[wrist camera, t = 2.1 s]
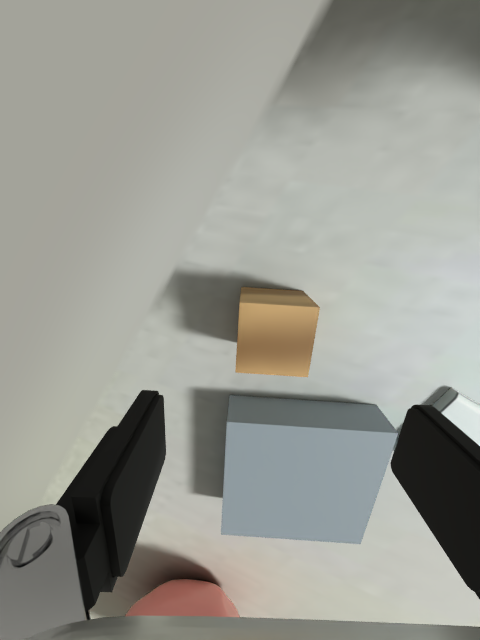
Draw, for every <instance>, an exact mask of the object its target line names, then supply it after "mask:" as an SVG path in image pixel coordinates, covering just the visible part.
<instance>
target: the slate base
mask: <svg viewBox="0 0 480 640" xmlns="http://www.w3.org/2000/svg"><path fill="white" fill-rule="evenodd" d="M397 436H398V432H397V431H396V430H395V428H394V427H393V426H392V424H391V423H390V422H389V421H388V419H387V418H386V417H385V415H384V414H383V413H382V411H381V410H380V409H379V408H378V406H377V405H371V404H356V403H341V402H326V401H311V400H296V399H281V398H266V397H251V396H236V395H230V397H229V406H228V416H227V428H226V448H225V467H224V486H223V506H222V525H221V534H222V535H237V536H251V537H265V538H280V539H294V540H309V541H323V542H338V543H352V544H361V541H362V538H363V535H364V532H365V529H366V526H367V523H368V521H369V518H370V515H371V512H372V509H373V506H374V503H375V500H376V497H377V494H378V491H379V488H380V485H381V483H382V480H383V477H384V474H385V471H386V468H387V465H388V462H389V459H390V456H391V453H392V450H393V447H394V445H395V442H396V439H397Z"/></svg>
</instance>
